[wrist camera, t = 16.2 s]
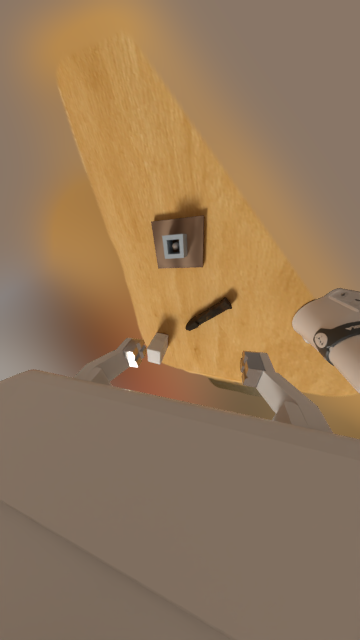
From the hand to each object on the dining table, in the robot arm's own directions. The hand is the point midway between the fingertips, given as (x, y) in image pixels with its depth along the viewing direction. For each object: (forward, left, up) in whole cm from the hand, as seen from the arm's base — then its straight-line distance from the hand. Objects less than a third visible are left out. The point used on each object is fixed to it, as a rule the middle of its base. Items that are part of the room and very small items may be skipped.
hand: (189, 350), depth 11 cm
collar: (+9, -6, -34) cm, 35 cm away
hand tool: (0, +17, -36) cm, 39 cm away
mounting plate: (+9, -6, -35) cm, 37 cm away
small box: (+20, +32, -35) cm, 52 cm away
